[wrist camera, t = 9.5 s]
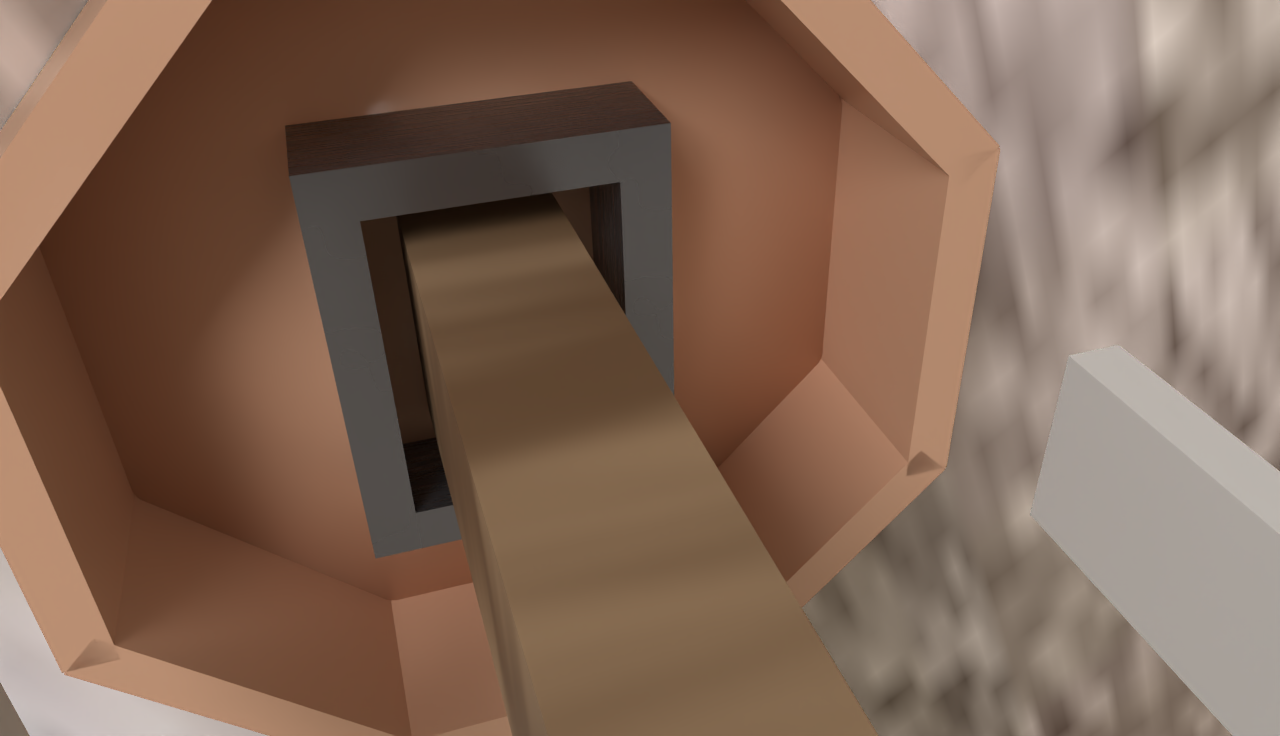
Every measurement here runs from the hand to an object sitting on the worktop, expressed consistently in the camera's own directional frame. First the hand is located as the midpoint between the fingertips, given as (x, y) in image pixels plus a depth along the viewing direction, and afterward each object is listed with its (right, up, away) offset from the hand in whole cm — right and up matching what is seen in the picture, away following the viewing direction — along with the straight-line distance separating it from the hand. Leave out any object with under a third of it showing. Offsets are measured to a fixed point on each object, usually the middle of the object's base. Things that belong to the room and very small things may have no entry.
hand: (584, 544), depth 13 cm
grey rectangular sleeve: (-2, +4, +6) cm, 8 cm away
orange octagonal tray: (-2, +4, +6) cm, 8 cm away
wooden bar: (-2, +3, +6) cm, 7 cm away
